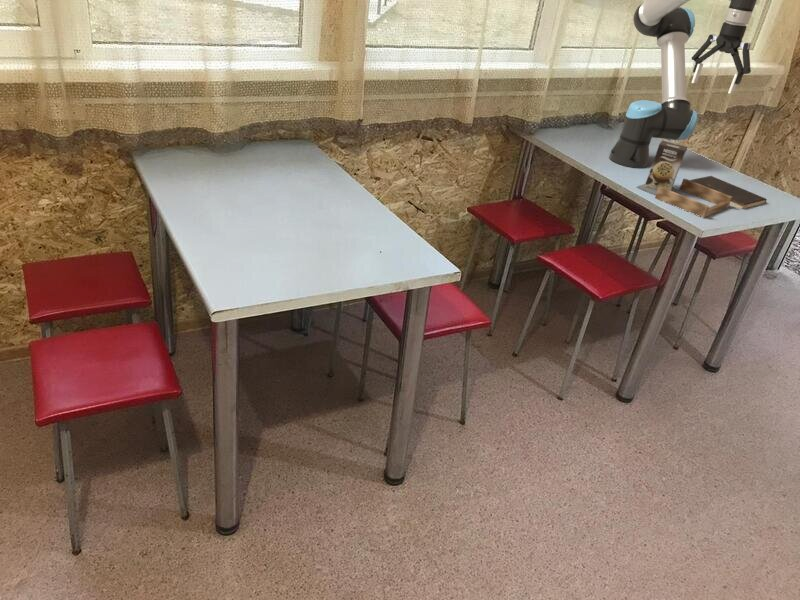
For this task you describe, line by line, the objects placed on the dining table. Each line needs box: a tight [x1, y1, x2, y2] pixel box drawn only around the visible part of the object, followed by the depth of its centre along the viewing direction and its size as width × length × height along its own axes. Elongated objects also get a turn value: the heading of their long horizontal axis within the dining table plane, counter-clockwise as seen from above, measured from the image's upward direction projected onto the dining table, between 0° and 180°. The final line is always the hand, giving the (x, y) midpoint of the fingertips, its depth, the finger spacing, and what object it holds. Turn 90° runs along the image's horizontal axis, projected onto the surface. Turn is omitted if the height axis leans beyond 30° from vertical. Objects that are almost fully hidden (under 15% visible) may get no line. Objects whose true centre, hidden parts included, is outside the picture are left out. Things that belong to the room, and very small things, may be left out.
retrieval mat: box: [635, 183, 679, 196], centre depth 237 cm, size 9×14×1 cm, turn 131°
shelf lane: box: [654, 178, 732, 218], centre depth 228 cm, size 18×19×4 cm
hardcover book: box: [689, 175, 767, 210], centre depth 241 cm, size 16×23×2 cm
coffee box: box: [644, 140, 688, 191], centre depth 232 cm, size 9×6×16 cm
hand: (712, 87), depth 229 cm, fingers open, 13 cm apart
